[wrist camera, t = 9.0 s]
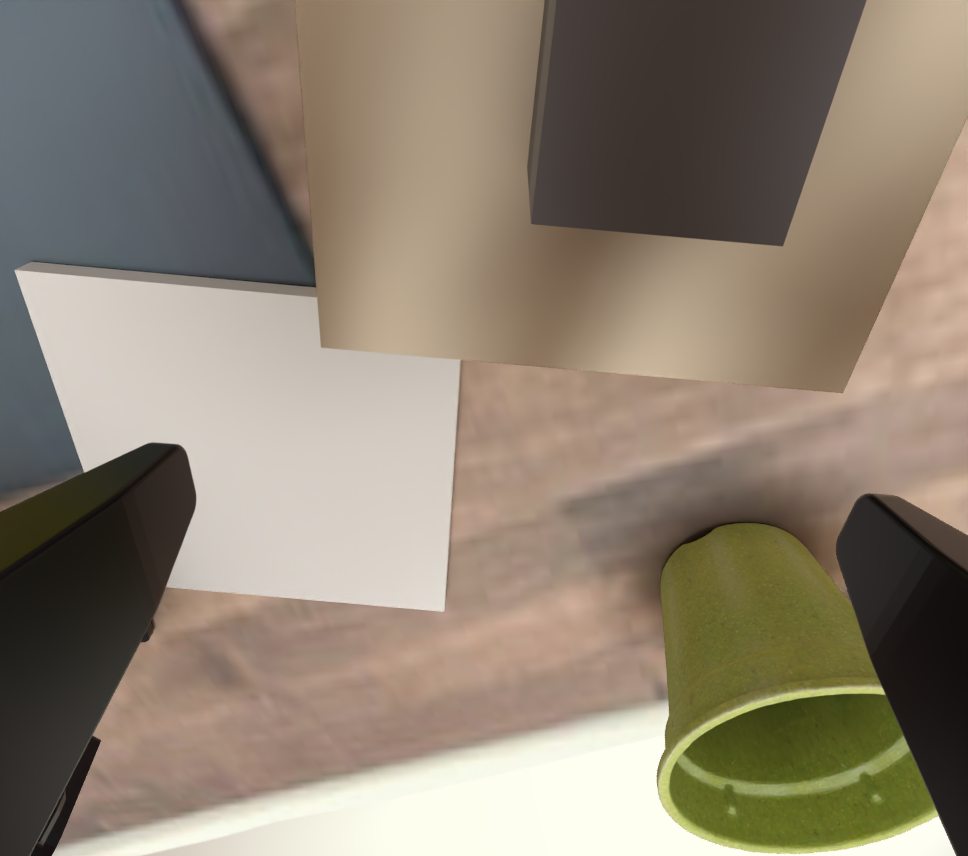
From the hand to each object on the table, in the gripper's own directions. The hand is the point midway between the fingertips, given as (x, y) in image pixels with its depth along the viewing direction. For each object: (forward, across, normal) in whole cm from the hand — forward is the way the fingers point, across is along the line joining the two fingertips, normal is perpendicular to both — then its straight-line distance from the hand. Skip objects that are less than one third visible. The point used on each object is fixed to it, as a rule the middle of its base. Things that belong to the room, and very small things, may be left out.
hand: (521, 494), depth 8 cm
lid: (+7, -2, -5) cm, 9 cm away
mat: (+13, +8, +9) cm, 18 cm away
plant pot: (+13, -11, +13) cm, 21 cm away
